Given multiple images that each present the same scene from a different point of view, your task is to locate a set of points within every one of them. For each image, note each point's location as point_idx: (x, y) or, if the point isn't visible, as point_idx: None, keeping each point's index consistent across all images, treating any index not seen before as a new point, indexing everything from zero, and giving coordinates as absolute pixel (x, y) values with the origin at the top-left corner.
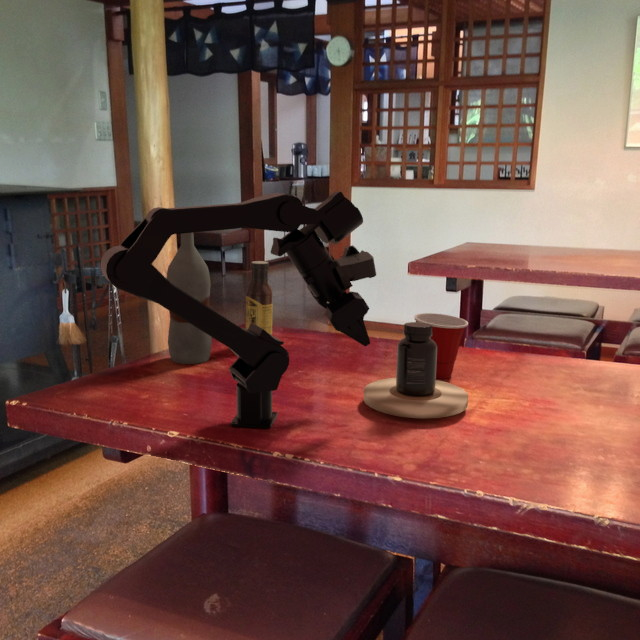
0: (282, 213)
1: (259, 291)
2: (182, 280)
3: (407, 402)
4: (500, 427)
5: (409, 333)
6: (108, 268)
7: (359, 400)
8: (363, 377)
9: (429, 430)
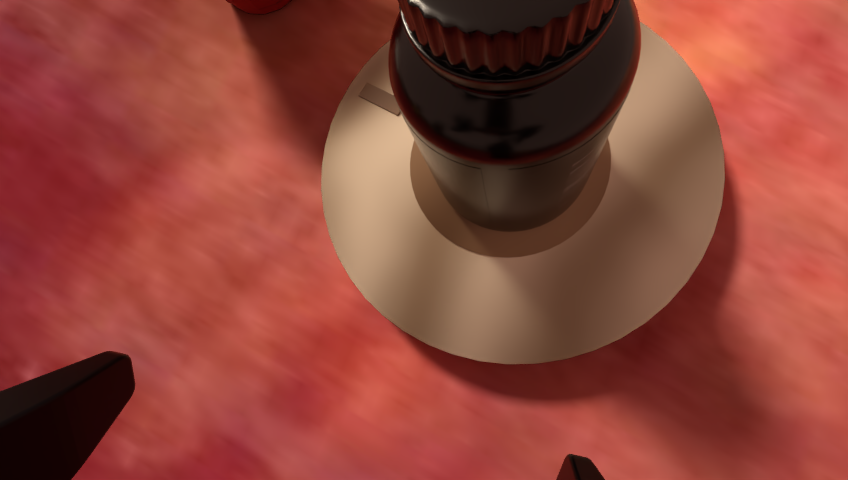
0: None
1: None
2: None
3: (610, 249)
4: (793, 23)
5: (546, 60)
6: None
7: (383, 329)
8: (183, 200)
9: (754, 254)
